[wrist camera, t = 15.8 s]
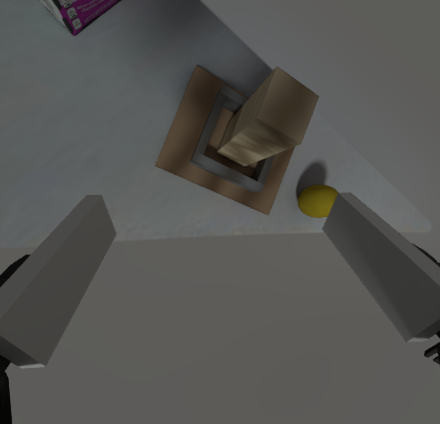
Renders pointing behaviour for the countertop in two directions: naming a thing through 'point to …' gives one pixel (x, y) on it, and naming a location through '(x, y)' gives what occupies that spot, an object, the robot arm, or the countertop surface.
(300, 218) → the countertop surface
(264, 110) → the maple post
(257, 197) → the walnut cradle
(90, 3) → the candy bar box
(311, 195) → the lemon
